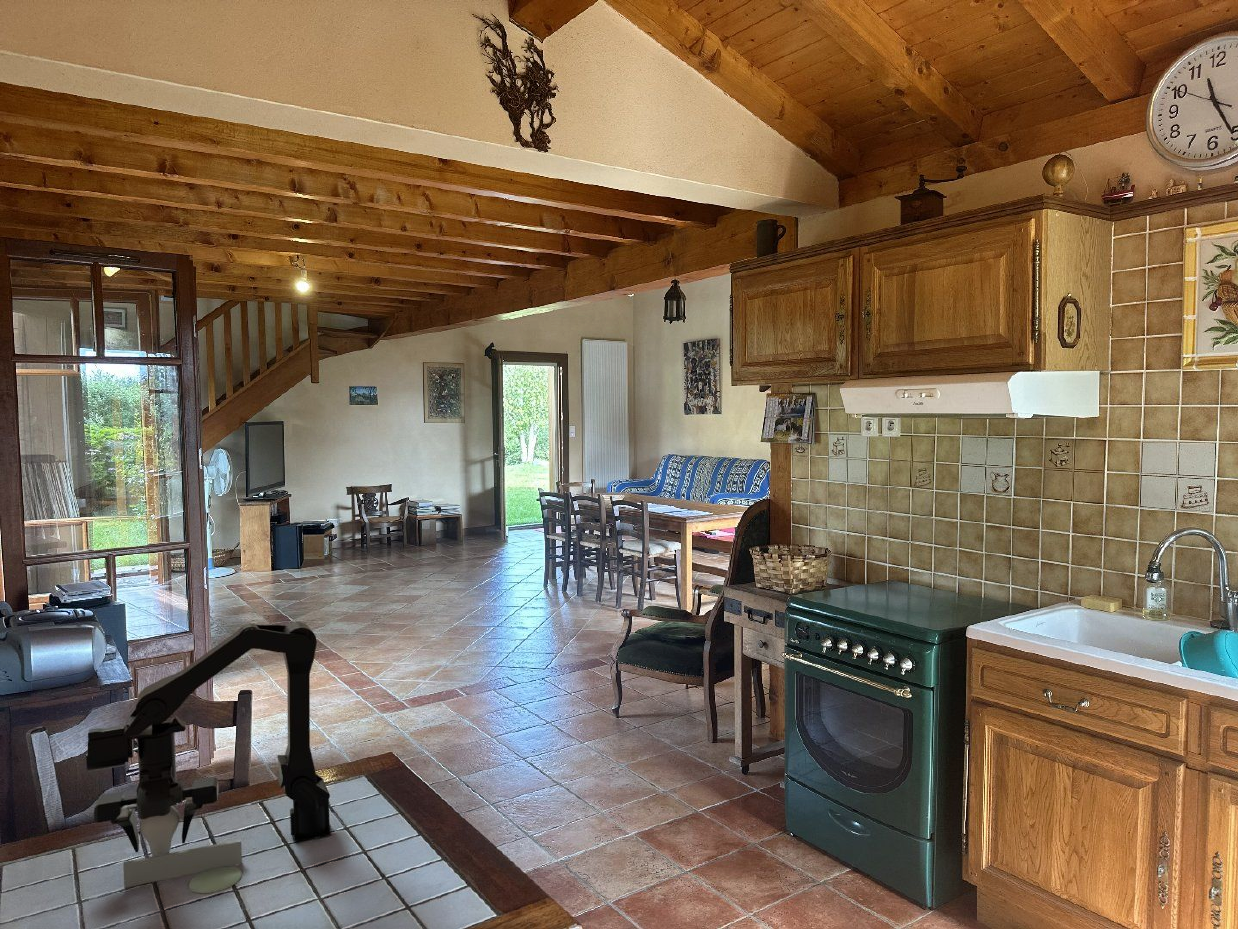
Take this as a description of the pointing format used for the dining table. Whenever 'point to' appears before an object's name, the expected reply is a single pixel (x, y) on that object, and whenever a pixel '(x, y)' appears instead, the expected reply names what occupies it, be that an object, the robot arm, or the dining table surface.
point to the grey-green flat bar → (182, 863)
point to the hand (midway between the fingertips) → (160, 847)
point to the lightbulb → (160, 831)
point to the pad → (215, 880)
